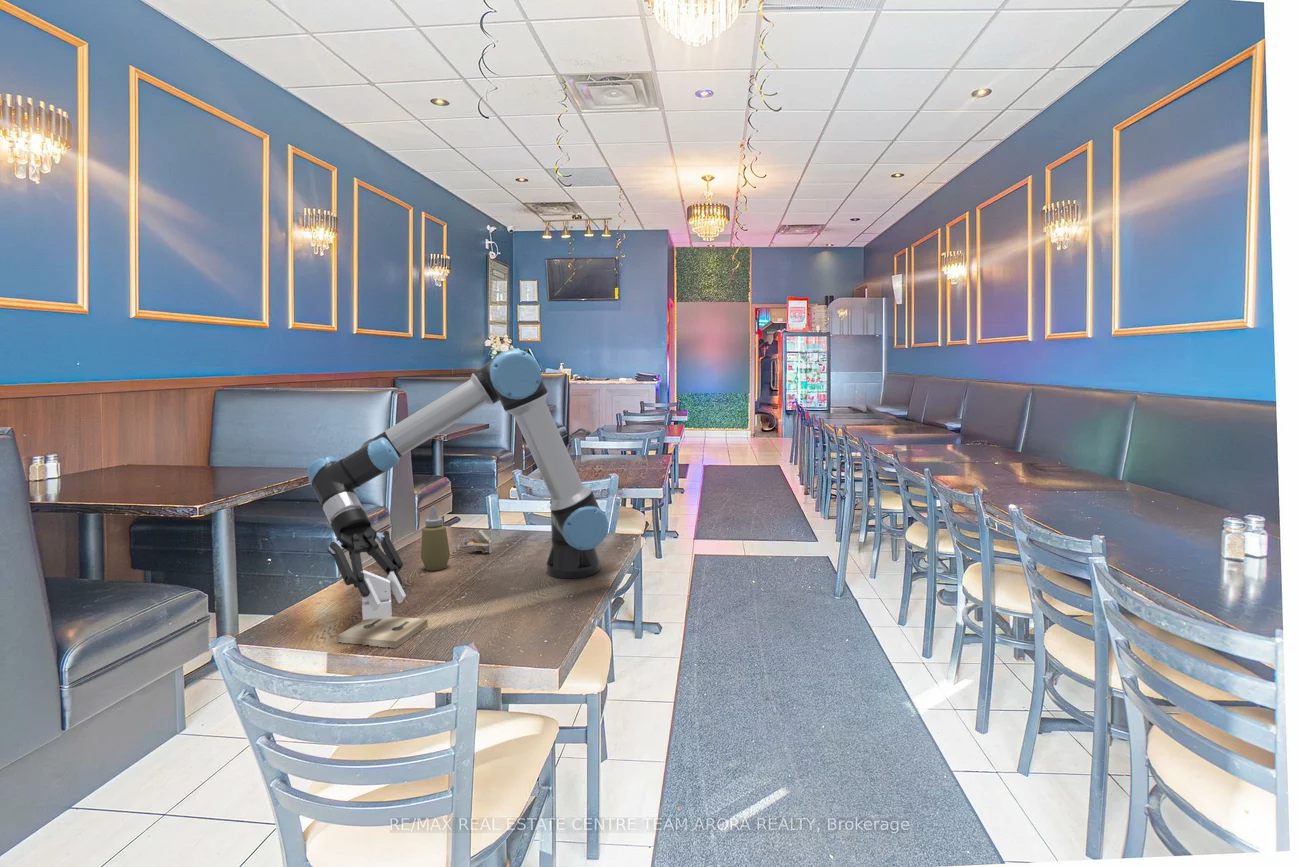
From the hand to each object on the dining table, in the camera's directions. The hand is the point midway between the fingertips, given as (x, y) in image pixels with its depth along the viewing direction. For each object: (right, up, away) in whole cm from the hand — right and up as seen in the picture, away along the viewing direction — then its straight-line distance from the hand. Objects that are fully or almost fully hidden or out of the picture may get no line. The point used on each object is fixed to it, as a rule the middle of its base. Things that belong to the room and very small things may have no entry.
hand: (389, 603), depth 140 cm
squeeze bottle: (-6, -3, +50) cm, 50 cm away
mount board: (-3, -8, +3) cm, 9 cm away
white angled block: (-4, -3, +2) cm, 5 cm away
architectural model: (+3, -2, +65) cm, 65 cm away
